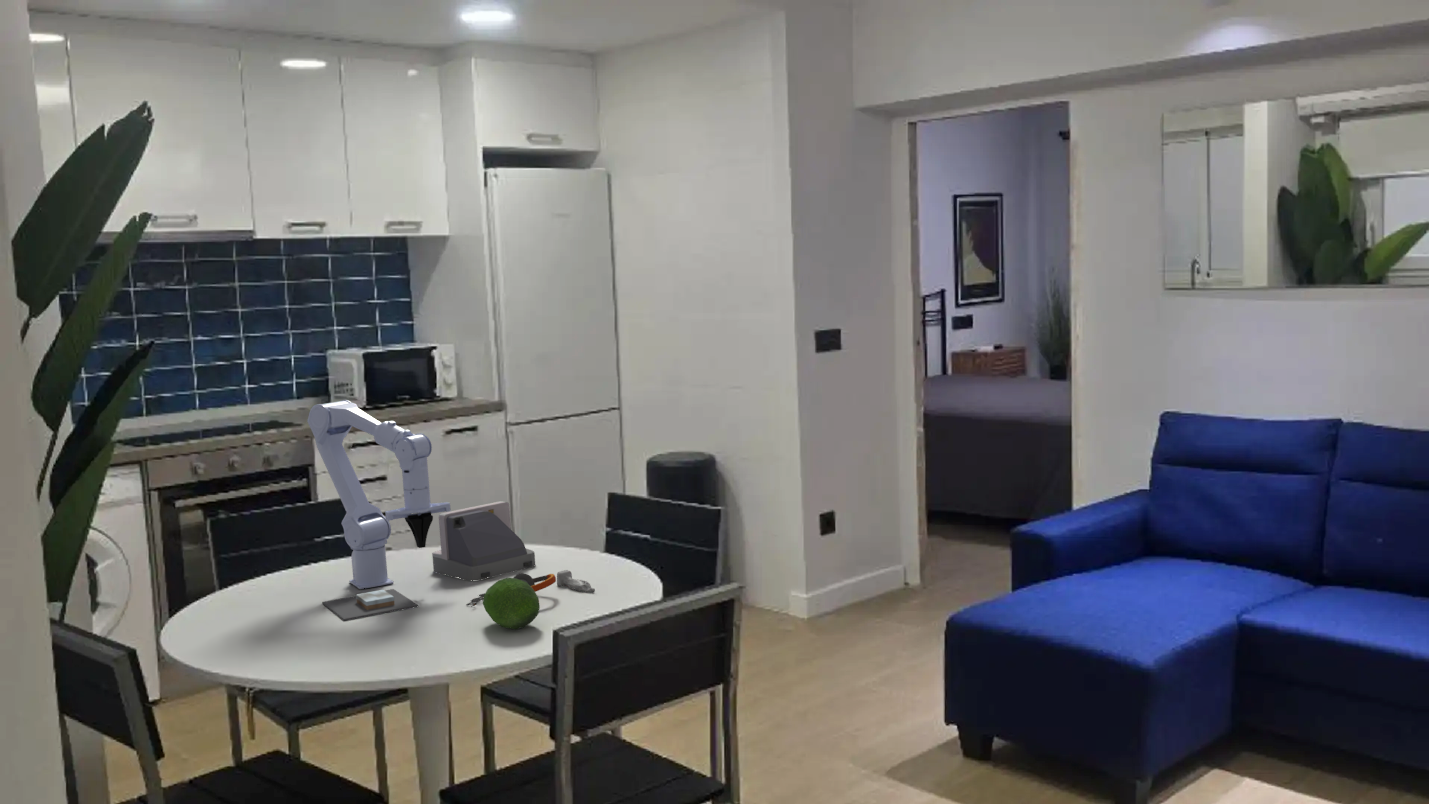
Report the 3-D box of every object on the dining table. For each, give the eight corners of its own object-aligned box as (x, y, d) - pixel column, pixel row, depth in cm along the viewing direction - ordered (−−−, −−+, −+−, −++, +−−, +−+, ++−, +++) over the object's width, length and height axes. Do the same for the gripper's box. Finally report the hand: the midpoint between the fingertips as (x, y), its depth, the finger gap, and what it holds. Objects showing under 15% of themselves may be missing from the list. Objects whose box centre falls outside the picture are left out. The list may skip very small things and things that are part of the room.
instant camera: (505, 555, 315) (501, 497, 313) (544, 568, 298) (539, 507, 296) (427, 570, 303) (422, 510, 301) (462, 585, 286) (457, 521, 284)
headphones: (484, 577, 280) (564, 558, 275) (491, 600, 280) (570, 581, 275) (451, 598, 264) (534, 578, 258) (458, 622, 264) (541, 602, 259)
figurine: (568, 584, 282) (569, 569, 282) (599, 598, 273) (600, 582, 273) (556, 586, 280) (556, 571, 279) (586, 600, 271) (587, 585, 270)
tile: (356, 594, 273) (383, 589, 276) (356, 602, 273) (383, 597, 276) (366, 601, 266) (393, 596, 269) (367, 609, 266) (394, 604, 269)
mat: (322, 603, 275) (322, 601, 275) (393, 590, 283) (393, 588, 283) (344, 620, 260) (344, 619, 260) (418, 606, 268) (418, 604, 268)
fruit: (473, 623, 253) (469, 575, 252) (518, 613, 258) (514, 566, 257) (503, 639, 240) (499, 589, 239) (549, 628, 246) (546, 579, 245)
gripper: (390, 494, 273) (395, 555, 275) (453, 485, 281) (457, 544, 282) (380, 490, 279) (385, 549, 281) (442, 482, 287) (447, 539, 288)
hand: (421, 546), depth 282 cm, fingers closed
